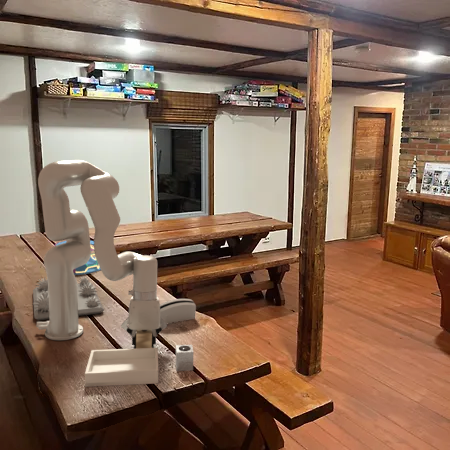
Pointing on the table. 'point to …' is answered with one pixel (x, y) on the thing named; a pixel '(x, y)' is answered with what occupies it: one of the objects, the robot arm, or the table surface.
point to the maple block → (143, 339)
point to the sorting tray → (122, 367)
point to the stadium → (89, 266)
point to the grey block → (184, 357)
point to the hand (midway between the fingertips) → (143, 346)
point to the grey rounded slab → (177, 310)
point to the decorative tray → (86, 299)
